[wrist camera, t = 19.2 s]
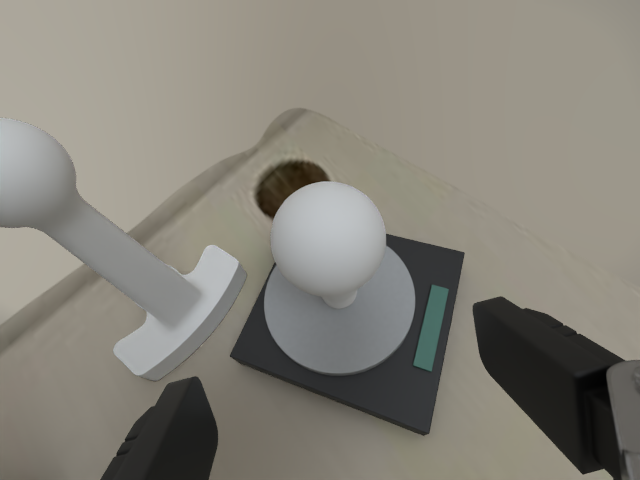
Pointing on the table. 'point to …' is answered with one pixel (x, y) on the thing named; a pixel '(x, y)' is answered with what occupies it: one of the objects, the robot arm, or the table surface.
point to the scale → (363, 335)
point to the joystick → (115, 253)
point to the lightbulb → (328, 241)
